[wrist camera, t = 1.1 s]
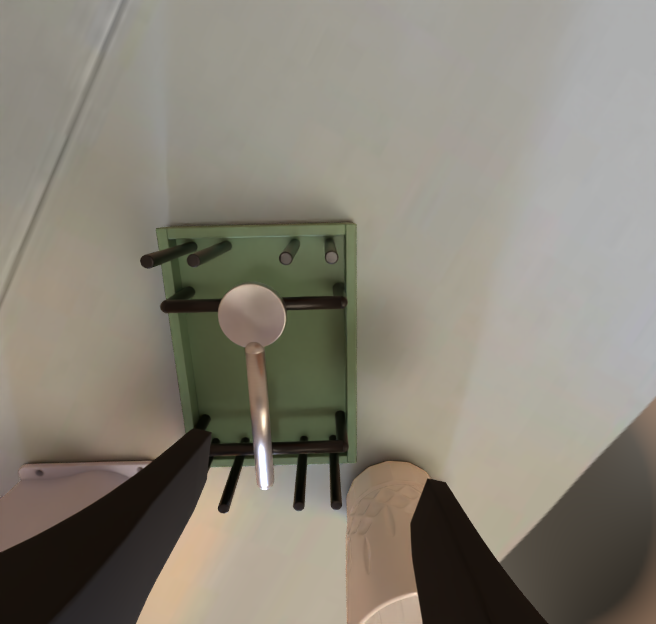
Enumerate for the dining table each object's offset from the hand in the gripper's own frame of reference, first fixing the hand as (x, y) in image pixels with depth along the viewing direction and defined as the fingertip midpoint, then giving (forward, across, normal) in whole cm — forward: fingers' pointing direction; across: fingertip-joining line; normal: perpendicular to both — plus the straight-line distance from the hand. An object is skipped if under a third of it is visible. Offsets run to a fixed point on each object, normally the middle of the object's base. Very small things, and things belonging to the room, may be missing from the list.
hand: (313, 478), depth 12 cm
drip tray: (+12, +4, +2) cm, 13 cm away
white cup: (+12, -7, +12) cm, 19 cm away
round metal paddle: (+8, +4, +2) cm, 9 cm away
